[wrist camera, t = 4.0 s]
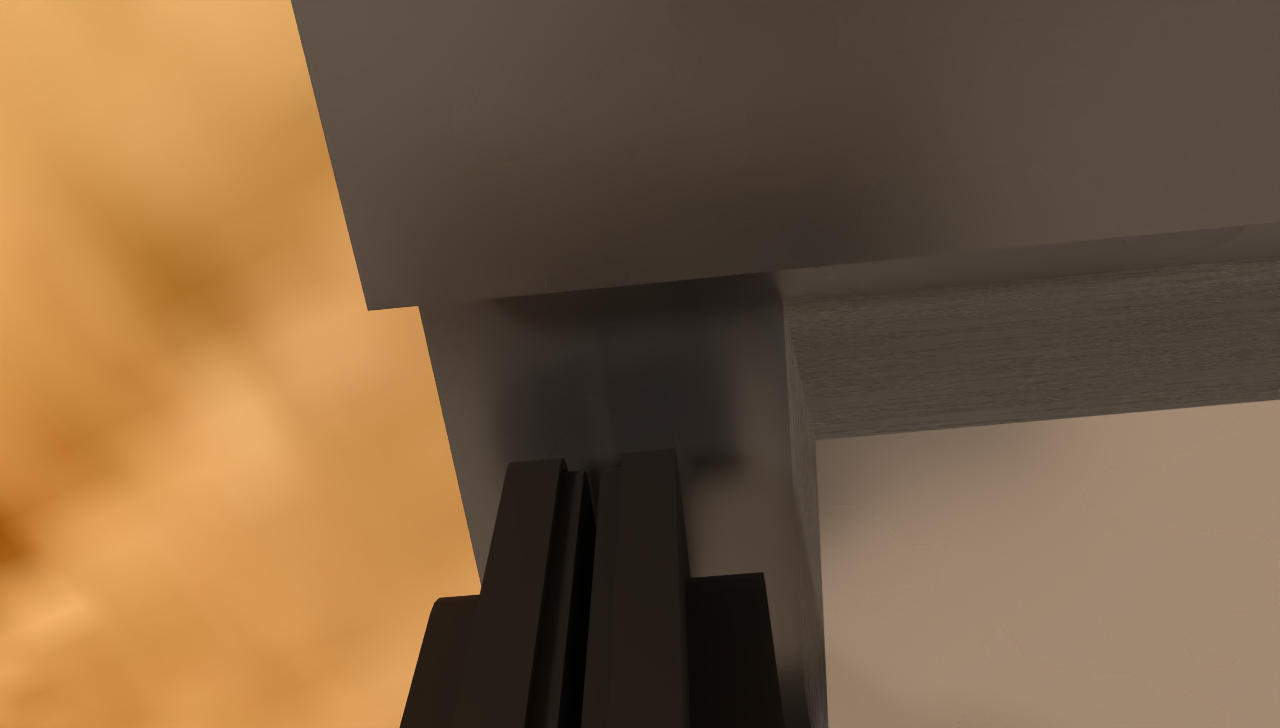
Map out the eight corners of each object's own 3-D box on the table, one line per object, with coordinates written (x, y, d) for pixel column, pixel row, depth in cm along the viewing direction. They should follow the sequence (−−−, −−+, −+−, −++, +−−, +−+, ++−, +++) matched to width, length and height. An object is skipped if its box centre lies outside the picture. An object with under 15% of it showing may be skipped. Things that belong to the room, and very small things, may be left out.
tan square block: (1318, 251, 10) (1497, 380, 8) (1244, 657, 13) (1367, 843, 11) (782, 303, 11) (815, 439, 9) (805, 689, 13) (835, 876, 11)
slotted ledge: (1830, -361, 11) (2527, -443, 7) (1480, 715, 17) (1729, 1000, 13) (391, -181, 12) (251, -155, 8) (577, 779, 18) (554, 1063, 14)
